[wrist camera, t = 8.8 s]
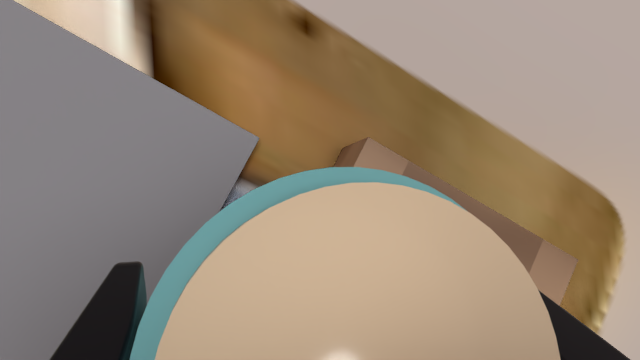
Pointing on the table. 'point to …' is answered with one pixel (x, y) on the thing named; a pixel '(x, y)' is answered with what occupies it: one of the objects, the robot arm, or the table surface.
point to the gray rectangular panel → (93, 176)
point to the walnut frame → (533, 252)
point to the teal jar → (345, 279)
